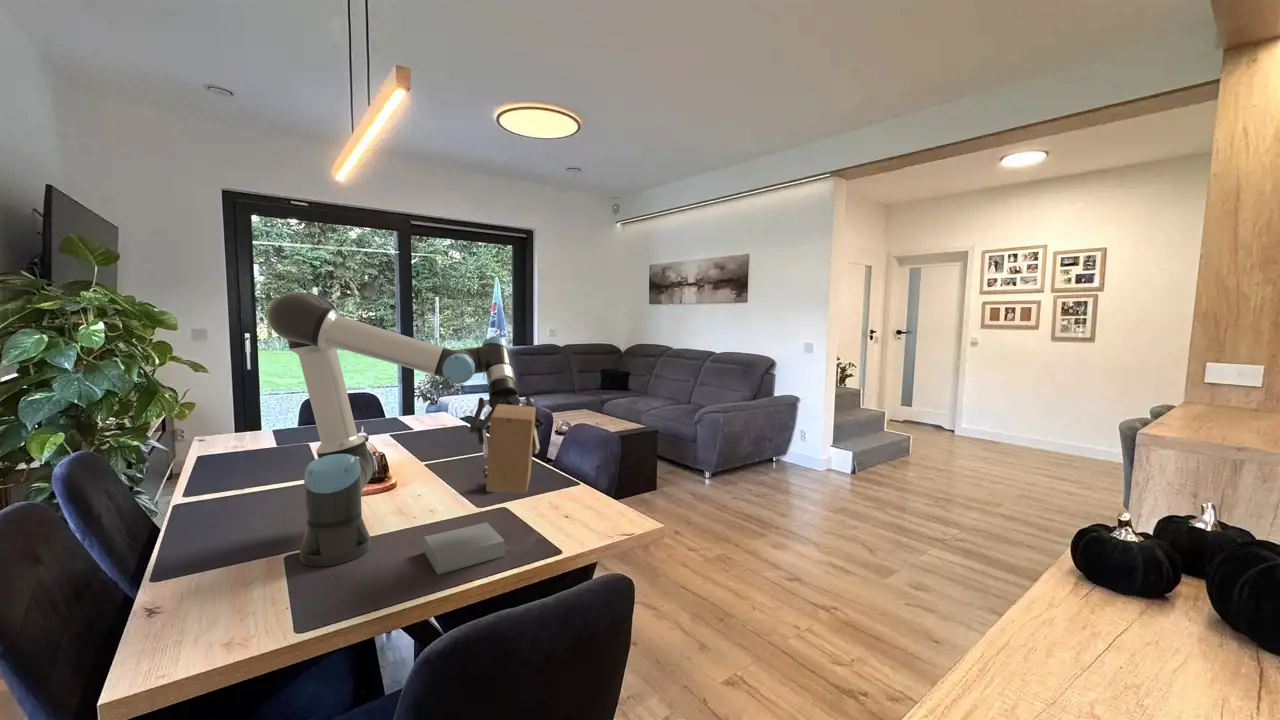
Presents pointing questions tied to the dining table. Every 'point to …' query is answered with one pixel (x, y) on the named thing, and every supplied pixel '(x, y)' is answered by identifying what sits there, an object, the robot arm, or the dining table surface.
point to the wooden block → (510, 448)
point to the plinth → (463, 547)
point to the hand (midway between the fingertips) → (512, 452)
